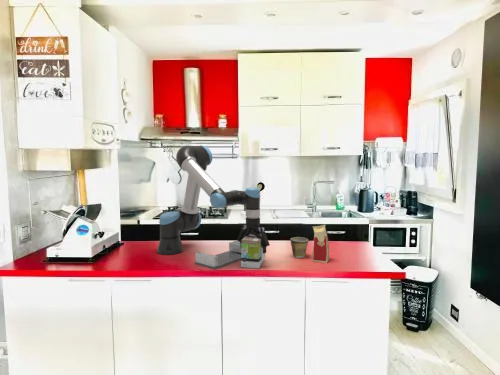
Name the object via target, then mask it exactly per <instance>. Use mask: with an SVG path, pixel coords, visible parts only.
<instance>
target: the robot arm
mask: <svg viewBox="0 0 500 375" xmlns="http://www.w3.org/2000/svg"><path fill="white" fill-rule="evenodd" d="M175 157H176V163H177V165H178V167H179V168H180V169H181V170H182V171H184V172H186V173H187V174H188V175H187V180H186V186H185V193H184V199H183V205H182V206H181V207H180V208H179V211H174V210H173V211H167V212H164V213H162V214H161V215H160V216H159V221H158V222H159V241H158V245H157V253H158V254H159V255H176V254H180V253H183V252H184V246H183V242H182V240H181V233H183V232H187V231H193V230H196V229H197V228H199V227H200V225H201V223H202V217H201V213H200V210H199V209H198V204H199V198H200V192H201V189H202V191H204V192H205V194H206V195H207V196H208V197H209V203H210V205H211V207H212V208H215V209H219V208H220V209H221V208H227V207H233V206H237V205H239V206H245V217H246V218H245V224H242V225H241V229H240V231H239V234H238V237H237V239H236V241H239V242H240V245H241V242H242V239H243V238H244V237H245V236H249V234H250V235H251V234H252V235H255V236H256V237H257V238H258V239H261V245H262V247H261V260H263V259H264V260H265V259H266V253H267V247H269V246H270V245H271V244H270V242H269V239H268V236H267V232H266V228H265V227H264V226H262V227H261V226H260V224H261V207H260V206H261V193H260V192H261V190H260V188H259V187H246V188H245V190H238V189H235V190H234V189H232V190H229V191H224V190H223V188H222V187H220V185H219V184H218V183H217V182H216V181H215V180H214V179H213V178H212V177H211V176H210V175H209V174H208V172H206V171H207V168H208V166H209V165H211V164H212V161H213V153H212V151H211V149H210V148H209V147H207V146H204V145H183V146H182V147H180V148H179V149H178V151H177V153H176V155H175Z"/></svg>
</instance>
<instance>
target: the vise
mask: <svg viewBox="0 0 500 375" xmlns="http://www.w3.org/2000/svg"><path fill="white" fill-rule="evenodd" d="M238 261H239V262H240V261H241V253H239V252H235V251H230V250H227V251H224V252H221V253H218V254H215V255H213V254H209V253H205V252H201V251H197V252H195V262H194V264H195V265H199V266H203V267H207V268H210V269H213V270H217V269H219V268H222V267H225V266H228V265H231V264H233V262H234V263H236V262H238Z"/></svg>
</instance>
